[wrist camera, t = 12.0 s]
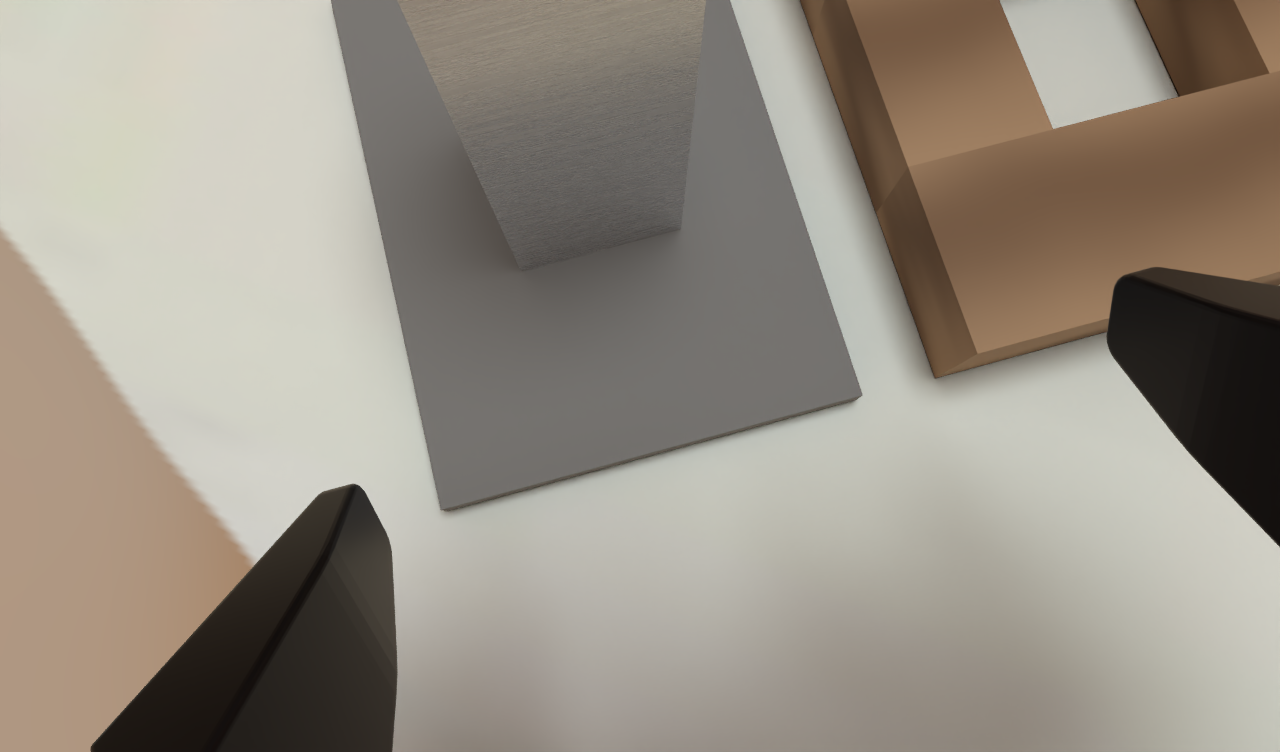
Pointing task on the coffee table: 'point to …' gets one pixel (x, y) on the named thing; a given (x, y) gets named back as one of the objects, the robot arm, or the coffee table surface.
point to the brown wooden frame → (1052, 166)
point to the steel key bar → (569, 113)
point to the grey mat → (591, 287)
